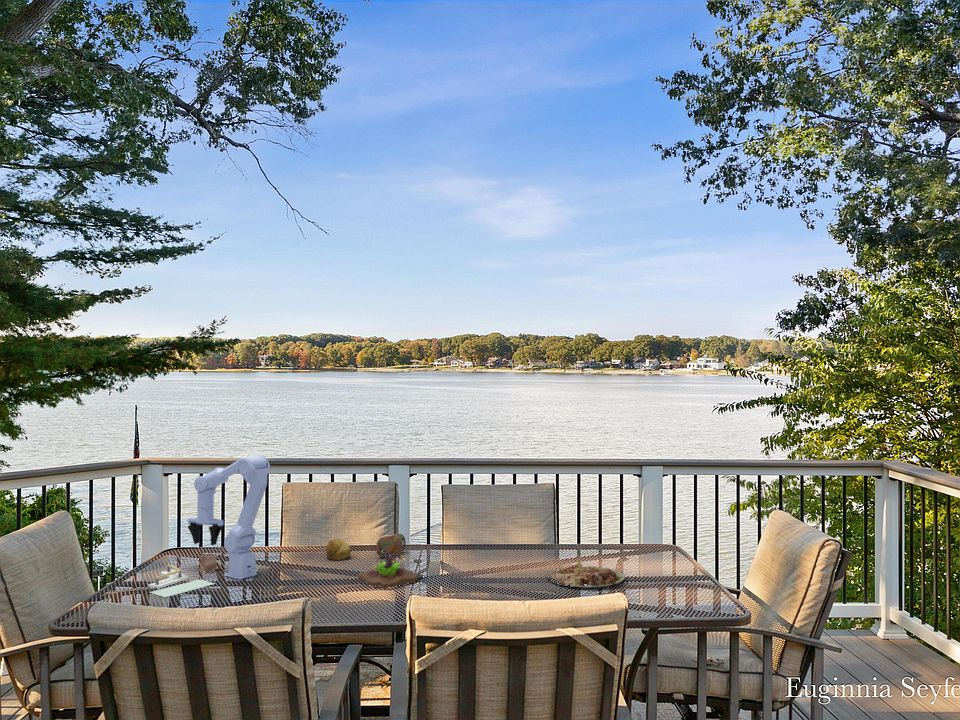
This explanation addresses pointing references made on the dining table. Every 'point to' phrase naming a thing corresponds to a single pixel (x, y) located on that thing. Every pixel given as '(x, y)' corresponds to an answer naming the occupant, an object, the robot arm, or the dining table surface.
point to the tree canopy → (391, 544)
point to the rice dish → (587, 576)
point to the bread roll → (337, 549)
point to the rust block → (208, 562)
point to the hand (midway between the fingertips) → (205, 544)
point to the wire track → (169, 577)
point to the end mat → (181, 588)
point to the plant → (388, 574)
